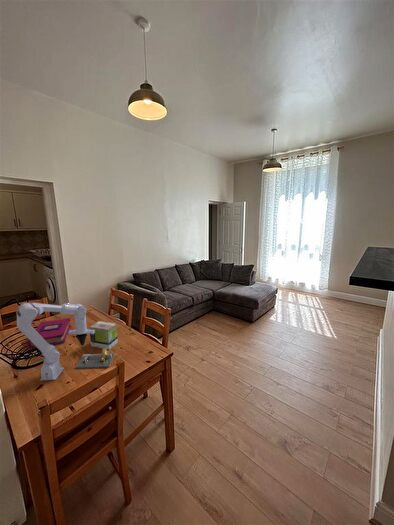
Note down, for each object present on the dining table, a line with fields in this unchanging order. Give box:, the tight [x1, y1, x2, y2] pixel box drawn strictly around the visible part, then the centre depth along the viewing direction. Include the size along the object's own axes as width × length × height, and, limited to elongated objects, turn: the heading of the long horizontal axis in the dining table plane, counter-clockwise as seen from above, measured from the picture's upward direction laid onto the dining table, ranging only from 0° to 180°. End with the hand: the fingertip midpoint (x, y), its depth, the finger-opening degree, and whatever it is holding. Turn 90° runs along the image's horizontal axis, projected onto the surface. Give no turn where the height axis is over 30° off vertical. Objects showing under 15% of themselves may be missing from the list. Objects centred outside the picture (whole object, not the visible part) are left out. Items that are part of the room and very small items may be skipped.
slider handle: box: [100, 348, 109, 361], centre depth 133 cm, size 6×3×5 cm, turn 5°
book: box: [26, 317, 72, 350], centre depth 160 cm, size 21×28×8 cm
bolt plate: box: [75, 353, 115, 369], centre depth 133 cm, size 11×19×1 cm, turn 95°
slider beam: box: [81, 352, 113, 362], centre depth 133 cm, size 5×17×2 cm, turn 95°
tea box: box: [88, 320, 119, 350], centre depth 150 cm, size 15×10×15 cm, turn 74°
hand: (82, 344), depth 133 cm, fingers closed
